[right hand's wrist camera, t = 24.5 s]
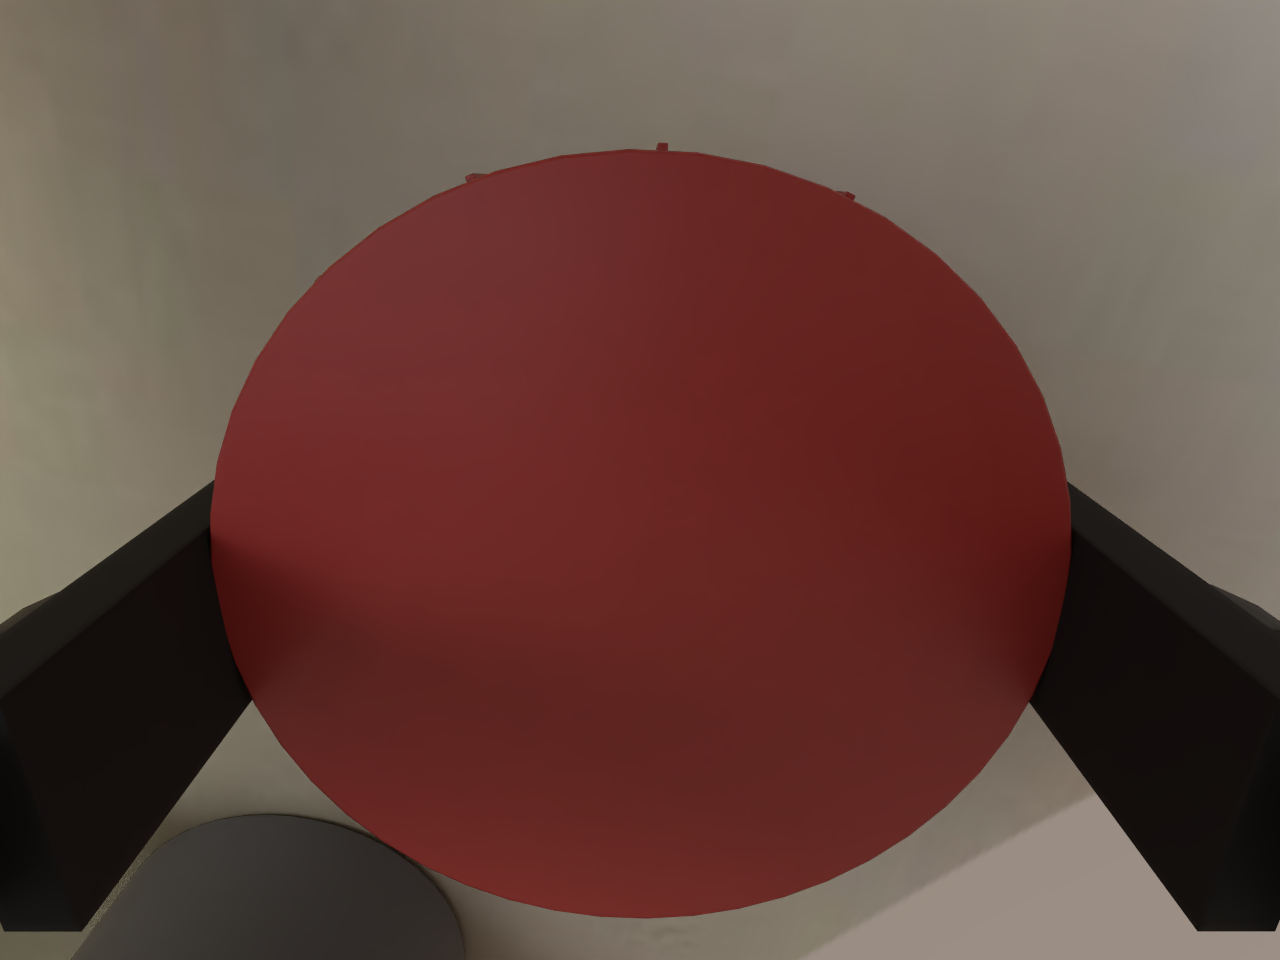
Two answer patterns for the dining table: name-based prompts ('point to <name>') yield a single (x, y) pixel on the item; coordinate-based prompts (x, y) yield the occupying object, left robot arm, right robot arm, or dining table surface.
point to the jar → (275, 899)
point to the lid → (640, 533)
